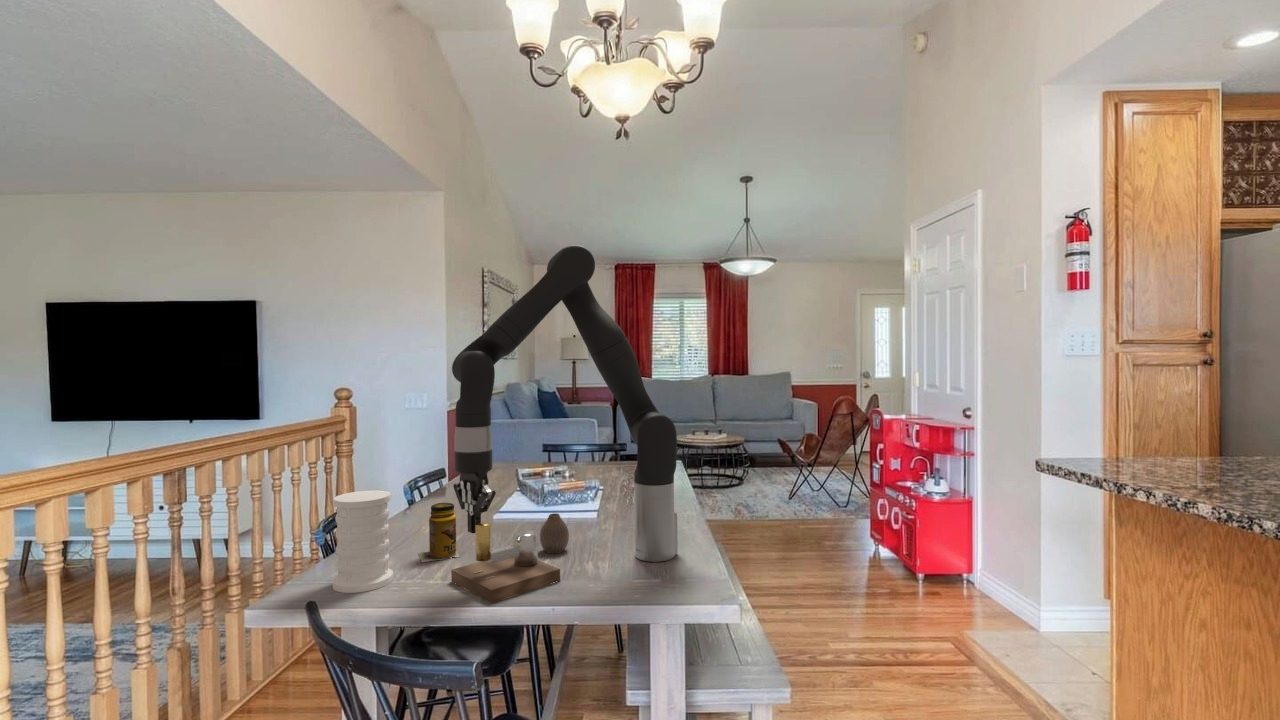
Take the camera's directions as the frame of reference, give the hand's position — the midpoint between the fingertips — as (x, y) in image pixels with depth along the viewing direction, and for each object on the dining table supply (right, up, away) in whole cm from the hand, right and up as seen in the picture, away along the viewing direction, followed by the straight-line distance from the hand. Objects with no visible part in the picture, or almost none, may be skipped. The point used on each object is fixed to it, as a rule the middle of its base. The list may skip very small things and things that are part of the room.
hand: (474, 531), depth 125 cm
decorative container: (-23, -11, +1) cm, 26 cm away
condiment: (-13, -11, +18) cm, 25 cm away
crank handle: (+7, -8, +1) cm, 10 cm away
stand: (+6, -11, +1) cm, 12 cm away
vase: (+14, -11, +21) cm, 27 cm away
